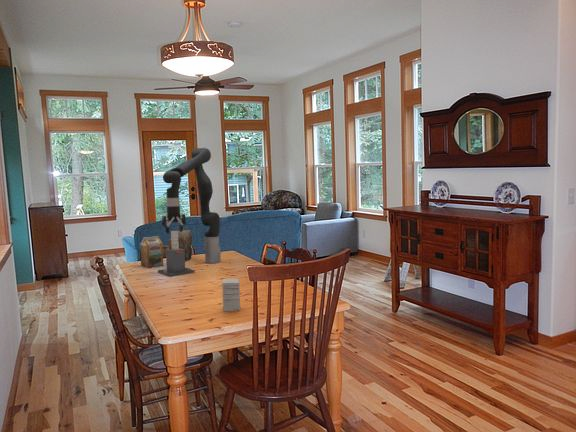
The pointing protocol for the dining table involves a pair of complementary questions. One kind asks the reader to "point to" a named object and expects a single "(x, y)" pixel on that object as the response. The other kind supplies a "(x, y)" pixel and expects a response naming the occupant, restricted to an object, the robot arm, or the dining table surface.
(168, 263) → the stand housing
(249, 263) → the dining table surface
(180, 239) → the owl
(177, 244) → the column
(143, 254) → the milk carton
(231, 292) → the supplement box
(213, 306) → the dining table surface
